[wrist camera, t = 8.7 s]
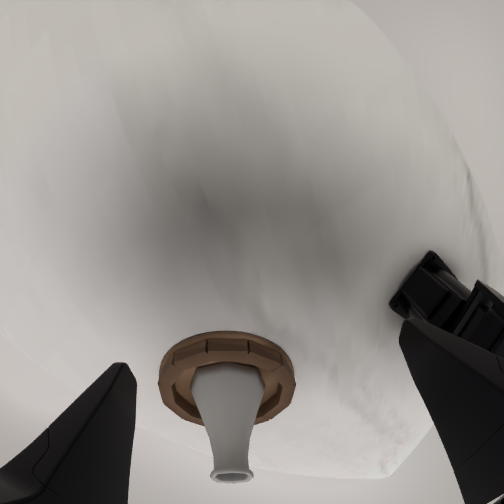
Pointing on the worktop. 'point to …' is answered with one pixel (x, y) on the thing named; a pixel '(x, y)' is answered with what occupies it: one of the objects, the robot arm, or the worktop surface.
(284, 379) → the round wooden tray
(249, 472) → the flask
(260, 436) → the worktop surface
